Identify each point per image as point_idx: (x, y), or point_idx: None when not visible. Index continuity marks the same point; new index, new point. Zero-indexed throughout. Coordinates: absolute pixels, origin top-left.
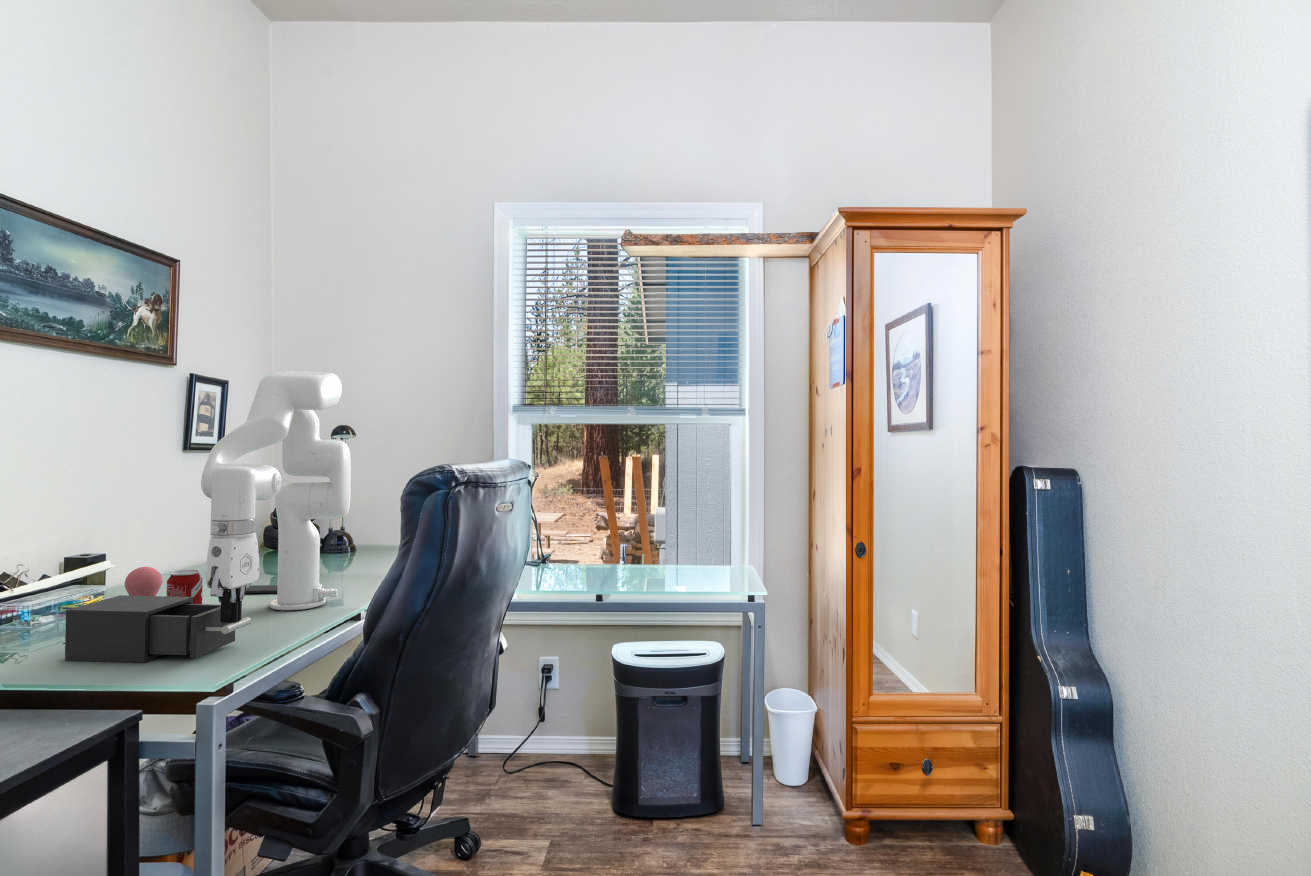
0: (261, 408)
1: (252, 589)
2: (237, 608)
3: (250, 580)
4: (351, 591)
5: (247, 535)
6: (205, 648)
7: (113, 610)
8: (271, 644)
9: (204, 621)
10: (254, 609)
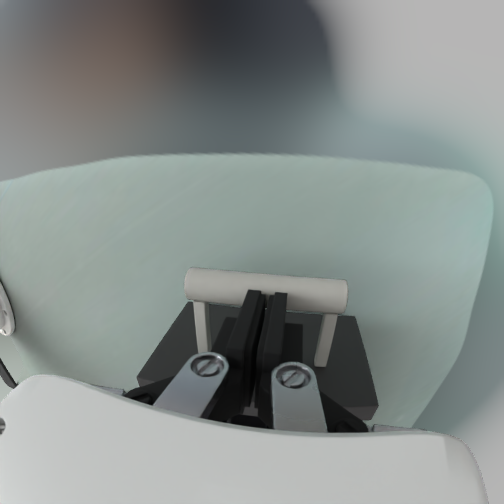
0: None
1: (3, 371)
2: (274, 328)
3: (132, 421)
4: None
5: None
6: (319, 322)
7: None
8: (168, 199)
9: (333, 384)
10: (27, 349)
